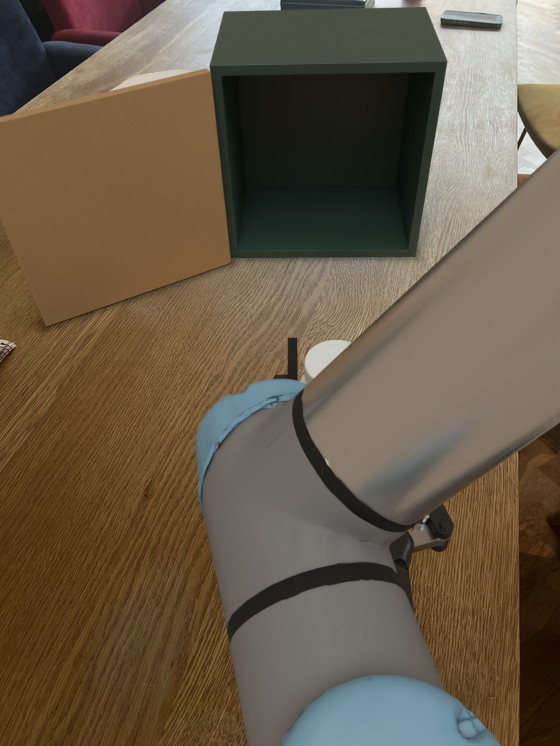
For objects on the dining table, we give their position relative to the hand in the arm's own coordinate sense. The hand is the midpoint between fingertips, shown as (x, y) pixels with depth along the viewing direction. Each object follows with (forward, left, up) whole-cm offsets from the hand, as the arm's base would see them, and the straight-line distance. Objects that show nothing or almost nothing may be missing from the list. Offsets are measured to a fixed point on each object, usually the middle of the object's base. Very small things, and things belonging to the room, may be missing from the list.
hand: (332, 349), depth 50 cm
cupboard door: (+36, -18, -18) cm, 44 cm away
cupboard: (+18, -41, -18) cm, 49 cm away
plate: (+63, -68, -18) cm, 95 cm away
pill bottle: (-2, +5, -6) cm, 8 cm away
